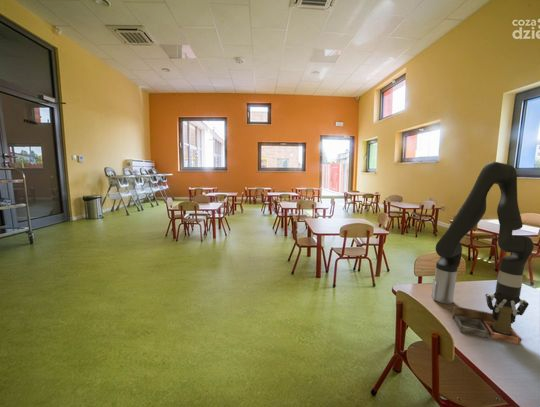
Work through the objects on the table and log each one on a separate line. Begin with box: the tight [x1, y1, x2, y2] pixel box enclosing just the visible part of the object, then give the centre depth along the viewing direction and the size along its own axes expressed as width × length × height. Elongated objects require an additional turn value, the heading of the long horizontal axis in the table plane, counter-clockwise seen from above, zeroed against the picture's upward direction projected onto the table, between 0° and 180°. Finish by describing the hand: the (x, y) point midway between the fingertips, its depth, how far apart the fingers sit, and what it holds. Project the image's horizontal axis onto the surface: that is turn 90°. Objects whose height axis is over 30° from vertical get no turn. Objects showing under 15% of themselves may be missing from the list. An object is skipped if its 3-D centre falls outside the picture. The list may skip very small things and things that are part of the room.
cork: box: [493, 306, 513, 335], centre depth 110 cm, size 6×6×11 cm
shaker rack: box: [451, 305, 522, 346], centre depth 113 cm, size 21×11×6 cm, turn 68°
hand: (502, 320), depth 110 cm, fingers closed on cork, 4 cm apart
